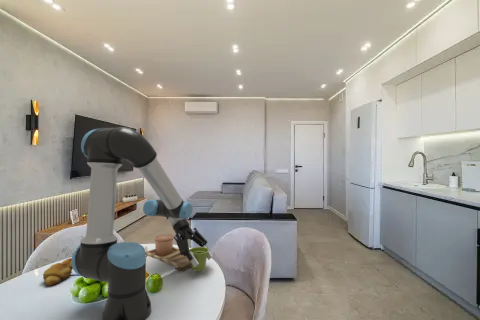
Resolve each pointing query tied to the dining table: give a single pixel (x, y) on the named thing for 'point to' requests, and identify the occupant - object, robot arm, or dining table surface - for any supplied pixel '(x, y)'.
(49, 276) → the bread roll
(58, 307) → the dining table surface
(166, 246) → the pot
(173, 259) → the pallet
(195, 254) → the plant pot
